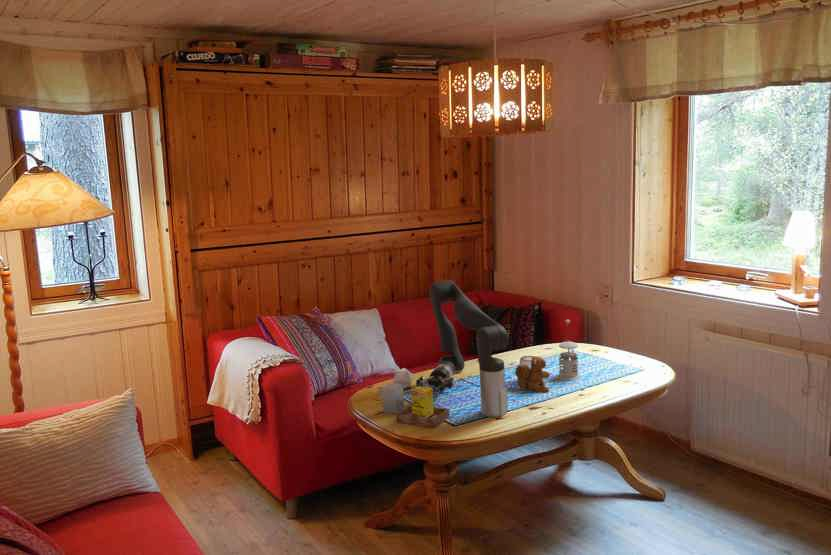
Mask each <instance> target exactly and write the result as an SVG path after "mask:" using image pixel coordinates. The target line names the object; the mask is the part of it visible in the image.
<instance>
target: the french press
mask: <svg viewBox="0 0 831 555" xmlns="http://www.w3.org/2000/svg"><path fill="white" fill-rule="evenodd" d="M565 323H566V324H567V325H569V324H571V320H570V319H566V320H565ZM558 347H559V348H560V349H565V350H567V351H565V352H563V351H562V352H561V353H559V357H558V363H559V365H558V367H559V368H558V370H559V372H558V374H557V378H558V379H560V380H564V381H565V380H567V381H572V380H578V379H580V378H581V375H580V374H579V359H578V357H577V356H578V354H577V353H576V352H574V350H573V349H576V348H578V347H579V345H578V343H576V342H574V341H571V340H570V341H569V340H567V341H563V342H561V343H559V344H558ZM570 350H571V352H570Z"/></svg>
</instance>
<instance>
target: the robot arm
mask: <svg viewBox="0 0 831 555" xmlns="http://www.w3.org/2000/svg"><path fill="white" fill-rule="evenodd" d="M428 289H429V290H428V292H429V299H430V302H431V306H432V311H433V313H434V317H435V321H436V324H437V328H438V333H439V340H440V341H439V342H440V346H441V350H442V351H443V352H446V353H450V354H451V355H443V356H441V357H440V359H439V365H437V366H436V367H435V368H434V369H433V370H432V371H431V373H430V374H429V376H428V377H426V378H424V376H420V377H418V378H417V379H416V380H415V382H416V383H415V385H416V387H418V386H422V387H428V388H434V387H435V388H438V389H439V392H441V393H442V392H443V391H445V390H446V389H449V390H451V389H452V388H453V387H454V385H455V381H454V377H453V376H454V375H455V373H459V372H461V371H462V372H463V370H464V368H465V360H464V358H463V355H462V353H461V350H460V349H459V344H458V338H457V331H456V329H455V327H454V324H453V323H452V322H451V321H450V319H448V317H447V316H446V315H445V313H444V311H443V308H442V305H443V304H446V303H451V302H452V303H454V306H453V315H454V317H455V319H456V321H458V322H459V323H460V324H461V325H462V326H464V327H465V328H467V329H470V330H473V331H476V336H475V337H476V338H475V340H476V350H477V351H476V352H477V360H478V365H479V389H480V392H479V393H480V412H481V414H482V415H483V416H486V417H491V418H492V417H493V418H494V417H495V418H497V417H500V418H501V417H503V416H504V415H506V414H507V413H508V412H509V408H508V405H509V404H508V387H506V379H505V377H506V376H505V361H504V360H503V359H502V358H500V357H499V358H498V357H493V355H492V352H496V351H500V350H504V349H506V348H507V347H508V346H509V344H510V343H509V342H510V338H509V333H508V331H507V330H506V329H505V327H504V326H503V325H501V324H500V323H499V322H497V321H496V320H494V319H492V318H491V317H490V316H488V315H487V314H486V313H485V312H483V311H482V309H481V308H480V307H479V306H477V305H476V304H475V303H474V302H473V301H472V300H470V298H468V296H466V295H465V294H464V292H463V291H462V290H461V289H460V287H459V286H458V285H457V284H456V283H455V282H454V281H453V280H451V279H445V280H440V281H436V282H433V283H431V284H430V286H429V288H428ZM416 387H415V388H416Z"/></svg>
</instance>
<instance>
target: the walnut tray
mask: <svg viewBox="0 0 831 555" xmlns="http://www.w3.org/2000/svg"><path fill="white" fill-rule="evenodd" d="M433 409H434V416H432V417H431V418H424V417H417V416H412V403H410V404H409V405H408V406H407V407H404V409H403V410H402V411H400V412H399V413H398V414H395V416H396V423H399V424H405V425H406V424H407V425H413V426H419V427H426V428H433V429H434V428H435V429H436V428H437V427H438V426H440V425H441V424H442V423H443V422H445V421H446V420H448V419H449V418H450V417H449V416H450V408H446V407H438V406H433Z"/></svg>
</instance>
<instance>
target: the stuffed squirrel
mask: <svg viewBox="0 0 831 555" xmlns="http://www.w3.org/2000/svg"><path fill="white" fill-rule="evenodd" d="M530 365H531V366H530V367H529V366H528V365H527V364H519V365H517V367H515V368H514V369H515V371H514V374H515V376H516V380H517V385H518V387H519V389H521V390H522V391H527V390H529V391H533V392H536V393H548V392H549V390H550V388H549V387H548V386H546V382H545V380H544V379H548V378H550V376H551V374H550V373H549V372H548V371H546V370H543V369H546V368H547V361H546V359H544V358H542V357H539V356H531V361H530Z"/></svg>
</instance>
